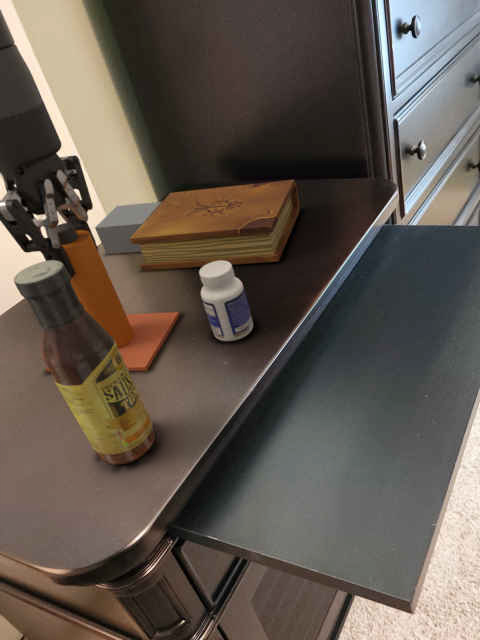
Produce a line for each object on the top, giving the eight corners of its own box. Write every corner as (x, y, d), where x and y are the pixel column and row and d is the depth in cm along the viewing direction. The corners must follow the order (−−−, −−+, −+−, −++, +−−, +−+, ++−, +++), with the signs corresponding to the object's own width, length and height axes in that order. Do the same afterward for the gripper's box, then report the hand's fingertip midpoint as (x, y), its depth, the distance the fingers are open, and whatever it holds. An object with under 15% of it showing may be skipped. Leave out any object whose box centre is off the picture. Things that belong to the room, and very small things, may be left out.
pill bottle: (255, 316, 69) (239, 254, 63) (252, 339, 65) (235, 276, 59) (216, 321, 70) (197, 261, 64) (211, 345, 66) (190, 282, 60)
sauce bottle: (150, 465, 52) (57, 289, 39) (91, 470, 52) (-20, 300, 39) (164, 419, 56) (86, 248, 43) (110, 424, 57) (17, 259, 44)
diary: (300, 210, 93) (295, 177, 89) (278, 262, 79) (271, 226, 76) (181, 220, 98) (171, 189, 94) (142, 270, 85) (129, 237, 81)
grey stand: (106, 254, 92) (94, 227, 89) (127, 231, 98) (116, 205, 95) (152, 251, 90) (142, 223, 87) (170, 228, 96) (161, 201, 93)
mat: (48, 372, 67) (45, 368, 67) (90, 319, 76) (89, 315, 75) (147, 370, 64) (145, 367, 63) (179, 315, 72) (178, 311, 72)
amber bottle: (88, 351, 68) (29, 239, 58) (105, 328, 72) (53, 219, 61) (124, 350, 67) (70, 236, 57) (140, 327, 70) (92, 215, 60)
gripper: (12, 93, 57) (79, 239, 68) (-79, 135, 47) (18, 299, 58) (72, 84, 55) (131, 235, 66) (-9, 124, 45) (77, 296, 56)
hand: (78, 264), depth 62 cm, fingers closed on amber bottle, 5 cm apart
